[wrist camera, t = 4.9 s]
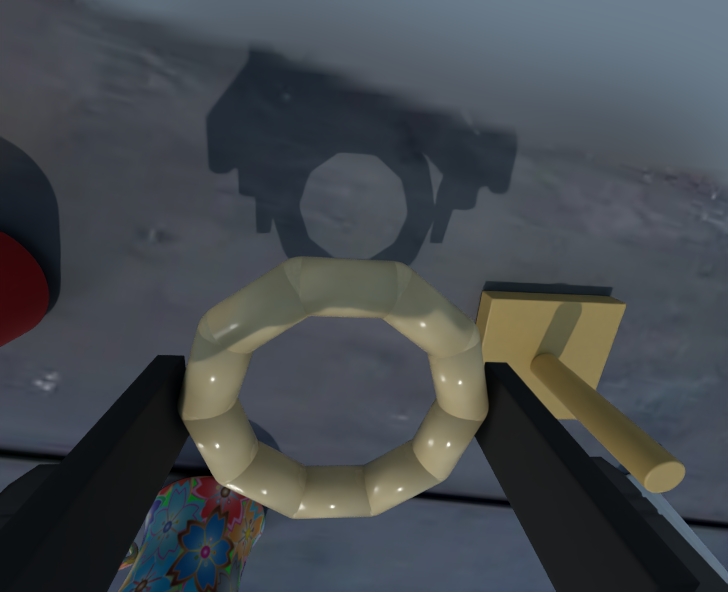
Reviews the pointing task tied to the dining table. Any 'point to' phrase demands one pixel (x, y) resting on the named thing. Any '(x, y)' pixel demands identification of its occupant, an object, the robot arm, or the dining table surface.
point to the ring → (334, 299)
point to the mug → (194, 539)
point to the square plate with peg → (572, 369)
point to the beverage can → (20, 290)
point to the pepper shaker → (680, 527)
